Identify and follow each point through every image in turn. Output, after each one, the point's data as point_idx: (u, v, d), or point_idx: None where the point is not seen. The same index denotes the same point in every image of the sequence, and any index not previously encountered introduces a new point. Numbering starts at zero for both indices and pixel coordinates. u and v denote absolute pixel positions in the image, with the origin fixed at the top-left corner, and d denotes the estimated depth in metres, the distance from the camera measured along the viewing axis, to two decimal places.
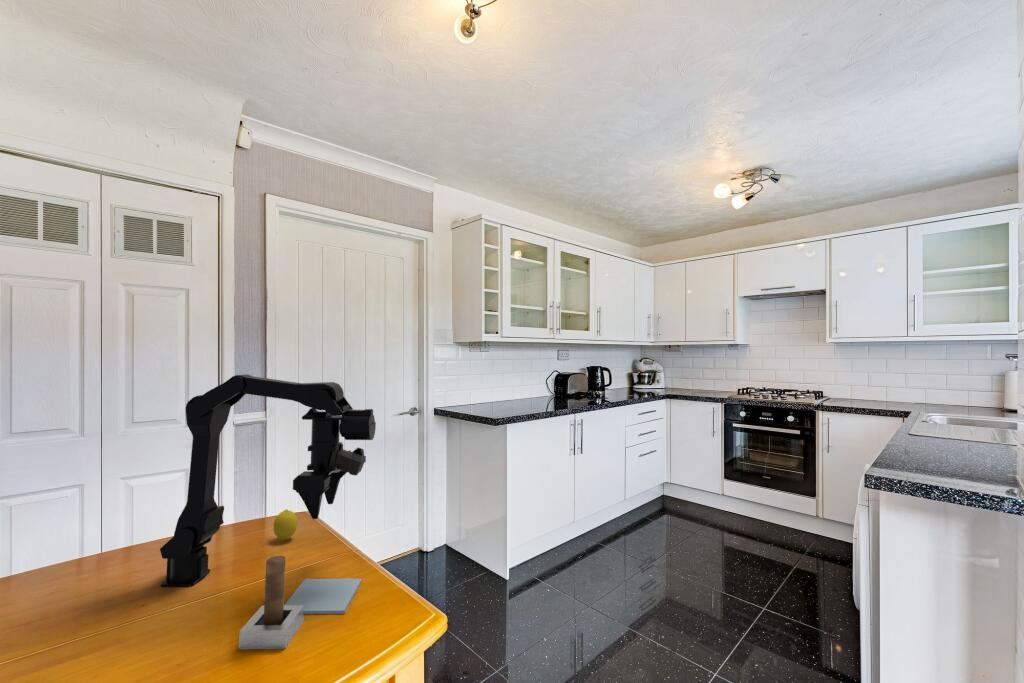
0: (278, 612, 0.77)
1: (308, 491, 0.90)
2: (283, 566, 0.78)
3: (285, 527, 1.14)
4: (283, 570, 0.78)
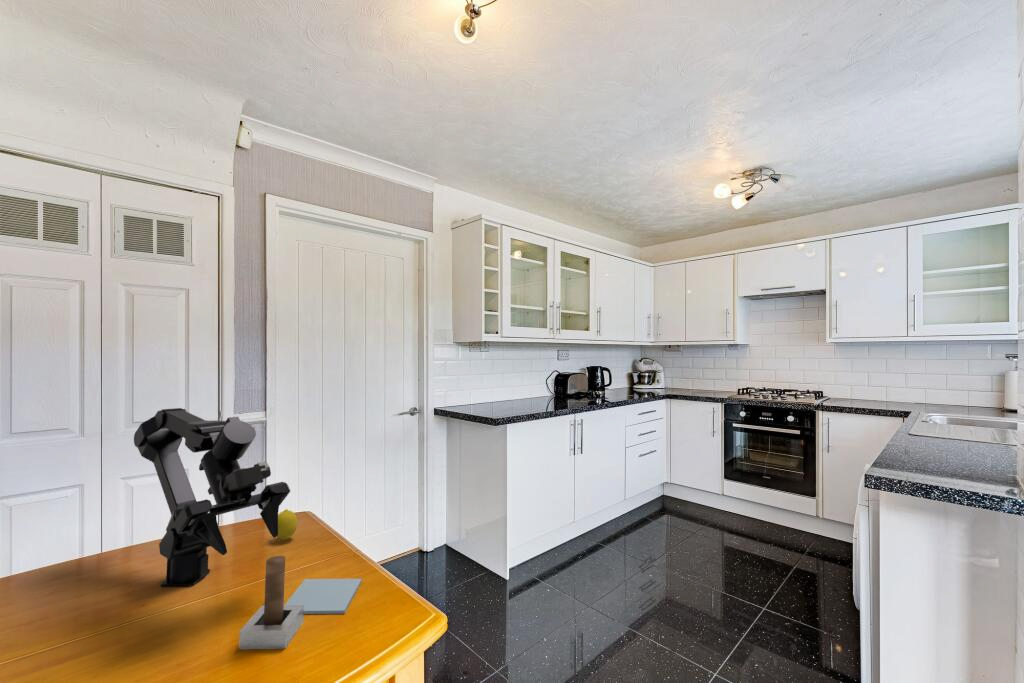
0: (278, 612, 0.77)
1: (191, 527, 0.79)
2: (283, 566, 0.78)
3: (285, 527, 1.14)
4: (283, 570, 0.78)
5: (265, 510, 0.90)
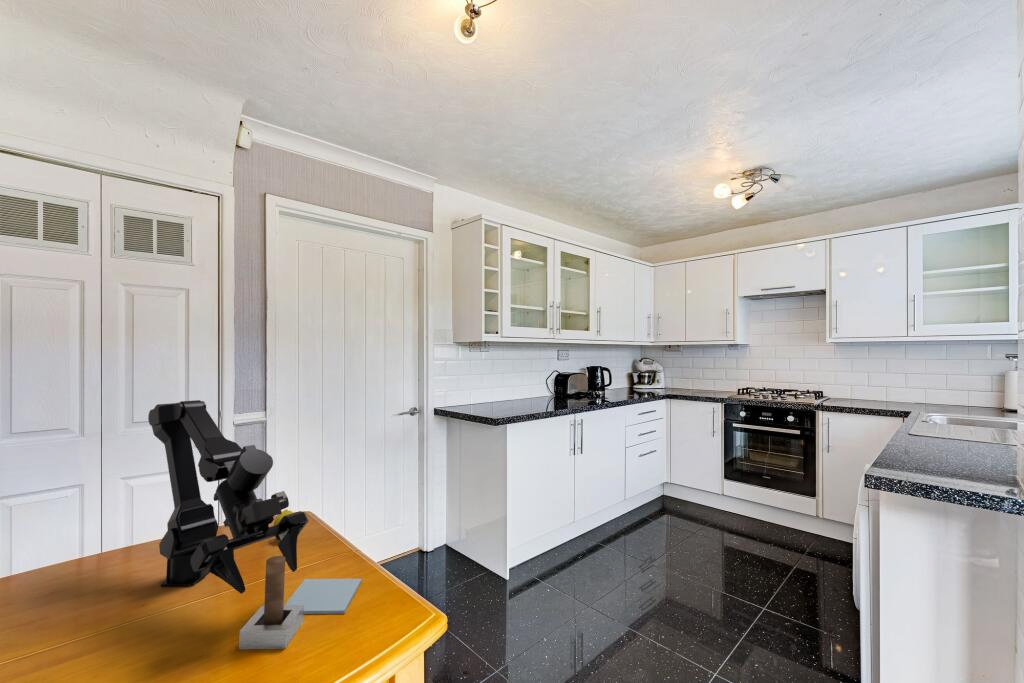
0: (278, 612, 0.77)
1: (207, 564, 0.75)
2: (283, 566, 0.78)
3: None
4: (283, 570, 0.78)
5: (283, 542, 0.86)
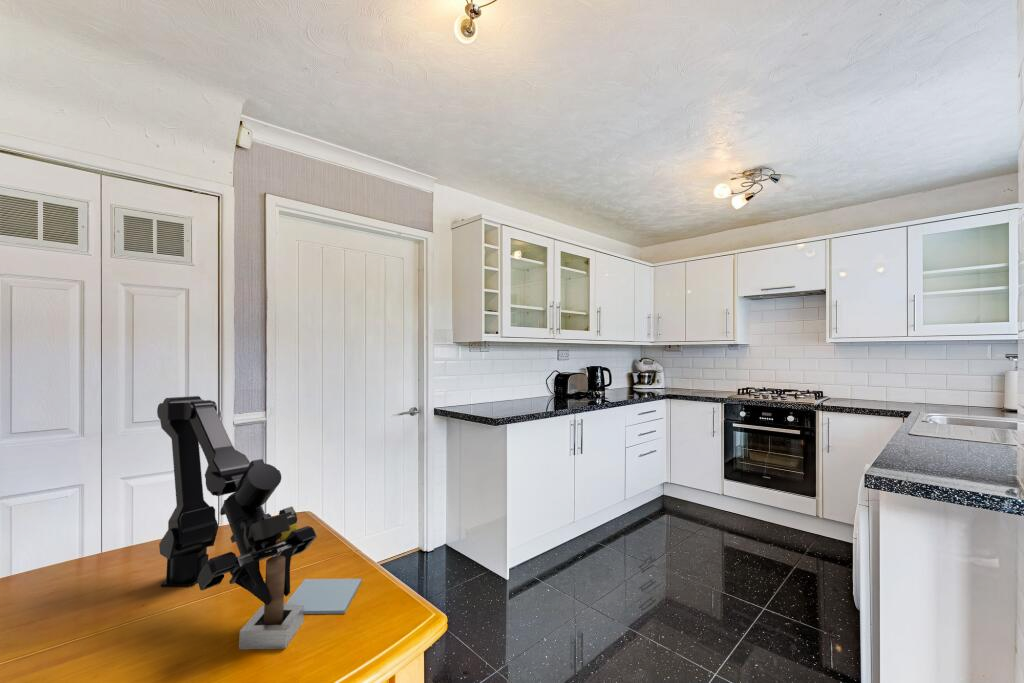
0: (278, 612, 0.77)
1: (234, 576, 0.76)
2: (284, 566, 0.78)
3: None
4: (283, 570, 0.78)
5: None
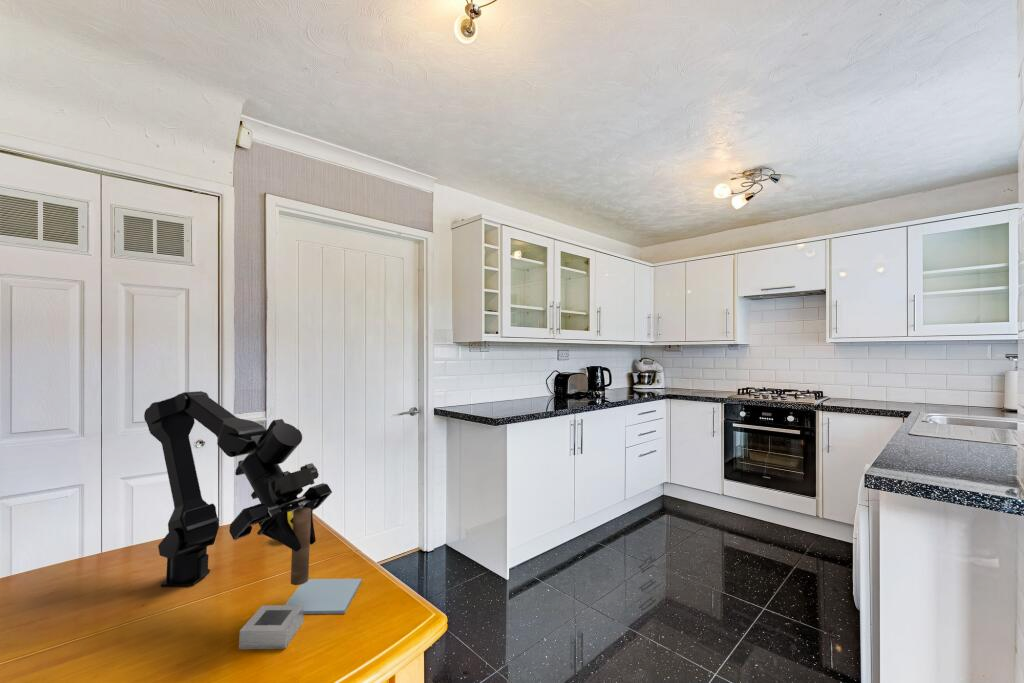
0: (306, 559, 0.83)
1: (264, 526, 0.80)
2: (310, 516, 0.84)
3: None
4: (310, 520, 0.84)
5: None
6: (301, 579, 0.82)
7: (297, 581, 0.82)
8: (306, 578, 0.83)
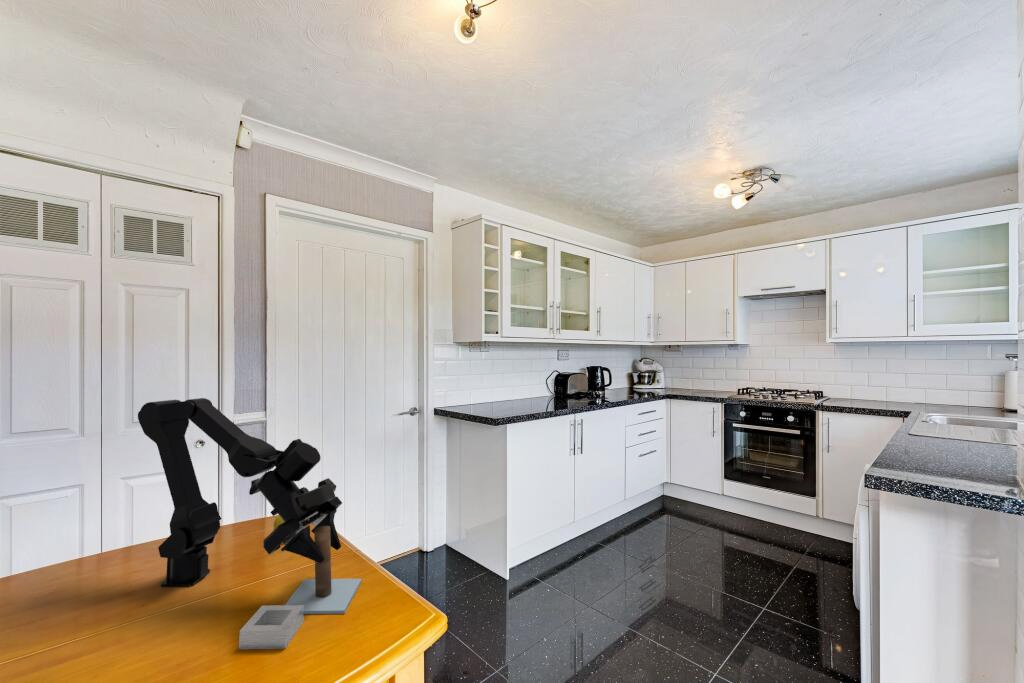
0: (329, 572, 0.90)
1: (289, 542, 0.85)
2: None
3: None
4: None
5: (320, 526, 0.95)
6: (327, 591, 0.90)
7: (323, 593, 0.89)
8: (330, 589, 0.90)
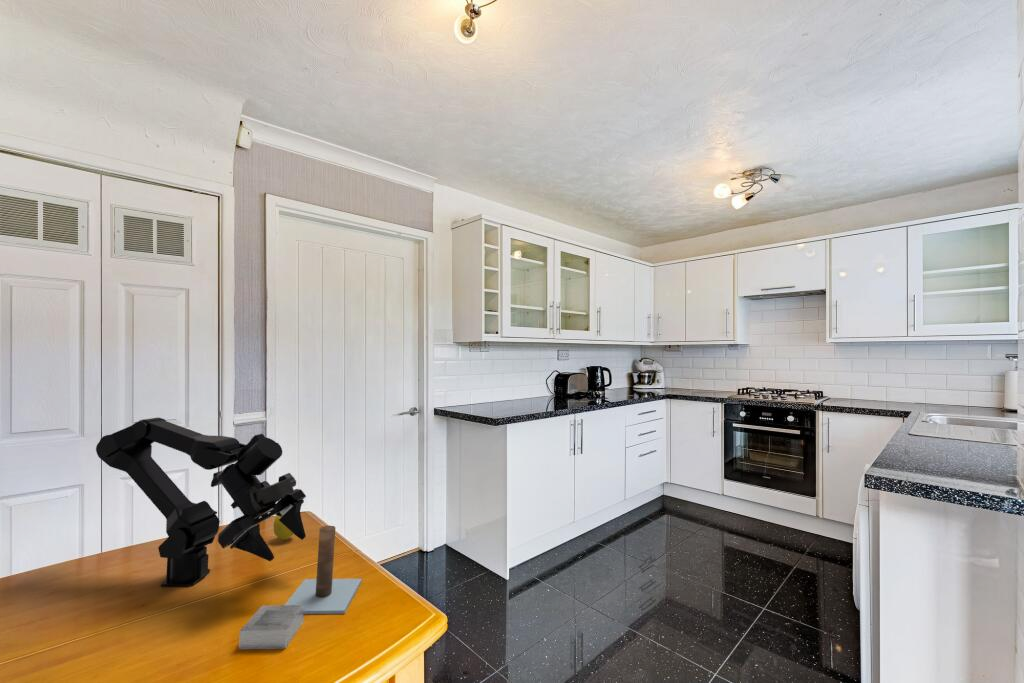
0: (331, 572, 0.90)
1: (237, 540, 0.85)
2: None
3: (285, 527, 1.14)
4: (334, 536, 0.92)
5: (286, 516, 0.98)
6: (327, 591, 0.90)
7: (324, 593, 0.89)
8: (331, 590, 0.90)
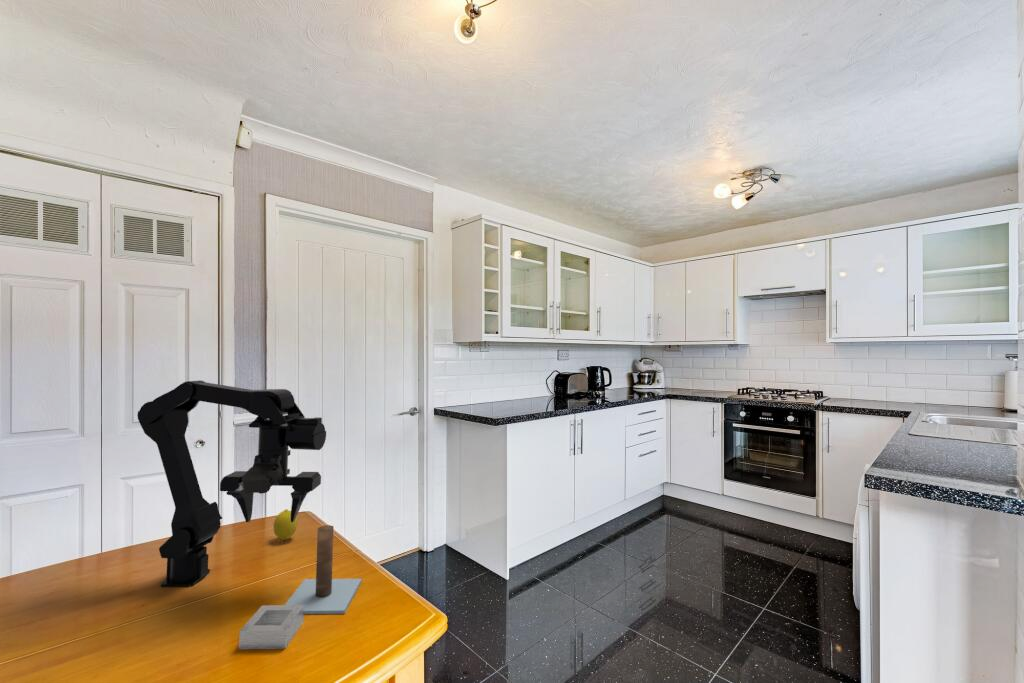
0: (330, 572, 0.90)
1: None
2: None
3: (285, 527, 1.14)
4: None
5: None
6: (327, 591, 0.90)
7: (324, 593, 0.89)
8: (331, 590, 0.91)
